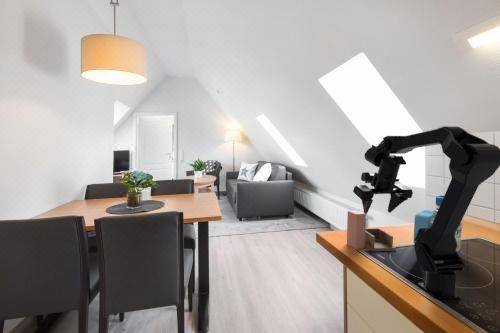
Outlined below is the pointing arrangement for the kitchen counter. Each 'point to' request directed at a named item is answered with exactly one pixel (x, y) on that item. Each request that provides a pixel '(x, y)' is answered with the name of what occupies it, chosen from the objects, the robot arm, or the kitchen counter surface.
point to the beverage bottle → (459, 230)
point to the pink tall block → (356, 229)
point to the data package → (422, 221)
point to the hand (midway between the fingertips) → (377, 212)
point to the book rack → (378, 240)
